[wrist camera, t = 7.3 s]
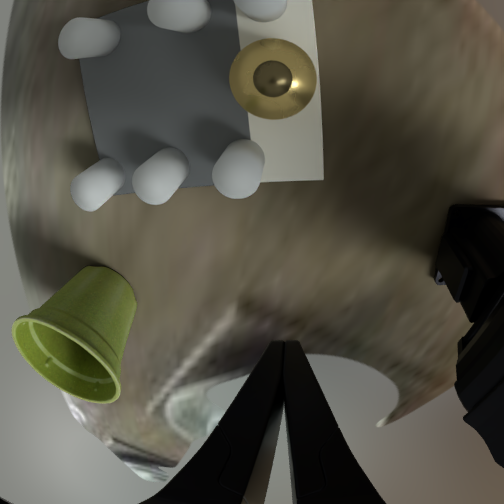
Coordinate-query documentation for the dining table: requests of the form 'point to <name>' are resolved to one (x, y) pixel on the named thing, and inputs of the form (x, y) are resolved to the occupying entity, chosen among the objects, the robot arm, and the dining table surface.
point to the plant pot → (80, 334)
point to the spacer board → (187, 100)
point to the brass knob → (273, 78)
